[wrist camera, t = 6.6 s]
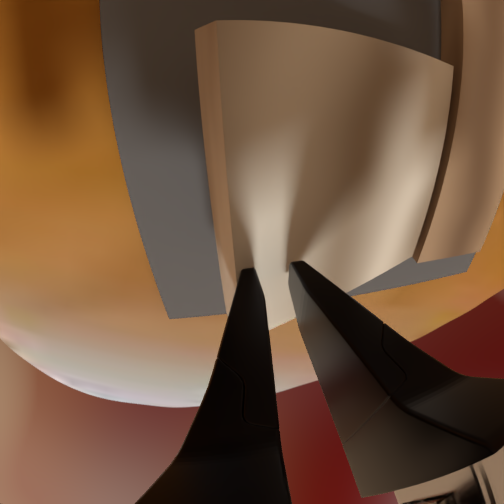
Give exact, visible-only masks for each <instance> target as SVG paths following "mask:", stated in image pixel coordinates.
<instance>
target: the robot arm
mask: <svg viewBox="0 0 504 504" xmlns="http://www.w3.org/2000/svg"><path fill="white" fill-rule="evenodd" d="M288 286H289V291H290V295H291V299H292V302H293V306H294V310H295V314H296V318H297V322H298V326H299V330H300V333H301V336H302V338H303V341H304V343H305V346H306V349H307V351H308V354H309V356H310V359H311V362H312V364H313V367H314V370H315V372H316V375H317V377H318V380H319V383H320V385H321V388H322V390H323V393H324V396H325V399H326V401H327V404H328V407H329V409H330V412H331V414H332V417H333V420H334V423H335V426H336V428H337V431H338V434H339V436H340V439H341V442H342V444H343V448H344V450H345V453H346V456H347V459H348V461H349V464H350V467H351V470H352V473H353V475H354V478H355V481H356V484H357V487H358V490H359V492H360V495H361V497H362V498H363V497H368V496H373V495H378V494H383V493H388V492H392V491H394V492H395V495H396V498H397V501H398V504H504V379H498V378H481V377H470V376H465V375H462V374H459V373H457V372H455V371H453V370H452V369H450V368H448V367H447V366H445V365H444V364H442V363H441V362H439V361H438V360H436V359H435V358H433V357H431V356H430V355H428V354H427V353H425V352H424V351H422V350H421V349H419V348H418V347H416V346H415V345H413V344H412V343H410V342H409V341H407V340H406V339H405V338H403V337H402V336H401V335H399V334H398V333H397V332H396V331H394V330H393V329H392V328H390V327H389V326H388V325H387V324H383V321H381V320H380V319H379V318H378V317H376V316H375V315H374V314H372V313H371V312H370V311H369V310H367V309H366V308H365V307H364V306H362V305H361V304H360V303H358V302H357V301H356V300H355V299H353V298H352V297H351V296H349V295H348V294H347V293H346V292H344V291H343V290H342V289H340V288H339V287H338V286H336V285H335V284H334V283H333V282H331V281H330V280H329V279H327V278H326V277H325V276H323V275H322V274H321V273H319V272H318V271H317V270H315V269H314V268H313V267H311V266H310V265H309V264H308V263H306V262H305V261H303V260H300V261H293V262H291V263H290V265H289V276H288ZM135 504H292V502H291V496H290V491H289V487H288V481H287V475H286V470H285V465H284V459H283V453H282V448H281V440H280V431H279V420H278V412H277V401H276V392H275V382H274V373H273V364H272V354H271V345H270V336H269V327H268V318H267V309H266V301H265V296H264V292H263V289H262V286H261V283H260V280H259V278H258V275H257V272H256V269H255V268H254V267H252V268H245V269H242V270H241V272H240V276H239V279H238V283H237V287H236V290H235V294H234V297H233V301H232V304H231V308H230V312H229V315H228V319H227V322H226V326H225V330H224V333H223V337H222V340H221V344H220V348H219V351H218V355H217V359H216V361H215V365H214V369H213V372H212V375H211V378H210V381H209V385H208V388H207V390H206V393H205V395H204V398H203V400H202V403H201V405H200V407H199V409H198V412H197V414H196V416H195V418H194V421H193V423H192V425H191V427H190V429H189V432H188V434H187V436H186V438H185V440H184V442H183V444H182V446H181V448H180V450H179V452H178V454H177V455H176V457H175V458H174V460H173V461H172V463H171V464H170V465H169V467H168V468H167V469H166V470H165V471H164V472H163V473H162V474H161V475H160V477H159V478H158V479H157V480H156V481H155V483H153V484H152V486H151V487H150V488H149V489H148V490H147V491H146V492H145V493H144V494H143V495H142V496H141V497H140V499H139V500H138V501H137V502H136V503H135Z"/></svg>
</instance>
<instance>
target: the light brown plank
mask: <svg viewBox="0 0 504 504" xmlns="http://www.w3.org/2000/svg"><path fill="white" fill-rule="evenodd" d="M440 1H441V61H443V62H445V63H448V64H450V65H452V66H454V68H453V81H452V91H451V100H450V108H449V115H448V122H447V128H446V134H445V139H444V144H443V150H442V154H441V159H440V164H439V168H438V172H437V177H436V181H435V185H434V188H433V192H432V196H431V200H430V203H429V207H428V210H427V213H426V217H425V220H424V223H423V226H422V229H421V233H420V236H419V239H418V241H417V244H416V247H415V250H414V253H413V256H412V257H413V258H414V260H415V261H416V262H417V263H421V262H427V261H433V260H438V259H443V258H449V257H454V256H459V255H465V254H470V253H475V252H480V250H481V248H482V246H483V244H484V241H485V239H486V237H487V234H488V232H489V229H490V227H491V224H492V222H493V219H494V217H495V214H496V211H497V209H498V206H499V203H500V200H501V197H502V194H503V191H504V0H440Z"/></svg>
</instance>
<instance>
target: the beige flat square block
mask: <svg viewBox="0 0 504 504" xmlns="http://www.w3.org/2000/svg"><path fill="white" fill-rule="evenodd" d="M195 45H196V59H197V73H198V85H199V96H200V107H201V118H202V128H203V138H204V148H205V157H206V166H207V175H208V183H209V192H210V200H211V208H212V216H213V224H214V231H215V239H216V246H217V253H218V260H219V267H220V274H221V281H222V288H223V294H224V301H225V307H226V313H227V316H228V315H229V312H230V308H231V304H232V301H233V297H234V294H235V290H236V287H237V283H238V279H239V276H240V272H241V270H242V269H245V268H252V267H254V268H255V269H256V272H257V275H258V278H259V280H260V283H261V286H262V289H263V292H264V296H265V301H266V309H267V318H268V327H269V330H270V329H272V328H275V327H277V326H279V325H281V324H283V323H286V322H288V321H290V320H292V319H294V318H296V314H295V310H294V306H293V302H292V299H291V295H290V291H289V286H288V276H289V265H290V263H291V262H293V261H300V260H303V261H305V262H306V263H308V264H309V265H310V266H311V267H313V268H314V269H315V270H317V271H318V272H319V273H321V274H322V275H323V276H325V277H326V278H327V279H329V280H330V281H331V282H333V283H334V284H335V285H336V286H338V287H339V288H340V289H342V290H343V291H344V292H346V293H347V292H349V291H351V290H353V289H355V288H356V287H358V286H360V285H362V284H364V283H366V282H368V281H370V280H371V279H373V278H375V277H377V276H379V275H380V274H382V273H384V272H386V271H388V270H389V269H391V268H393V267H395V266H396V265H398V264H400V263H402V262H403V261H405V260H407V259H409V258H410V257H412V256H413V253H414V250H415V247H416V244H417V241H418V239H419V236H420V233H421V229H422V226H423V223H424V220H425V217H426V213H427V210H428V207H429V203H430V200H431V196H432V192H433V188H434V185H435V181H436V177H437V172H438V168H439V164H440V159H441V154H442V150H443V144H444V139H445V134H446V128H447V122H448V115H449V108H450V100H451V91H452V81H453V68H454V66H452V65H450V64H448V63H445V62H443V61H440V60H438V59H436V58H433V57H431V56H428V55H425V54H423V53H420V52H417V51H414V50H412V49H409V48H406V47H403V46H400V45H396V44H393V43H390V42H386V41H383V40H379V39H376V38H372V37H368V36H364V35H360V34H356V33H351V32H346V31H341V30H336V29H331V28H325V27H319V26H312V25H304V24H296V23H286V22H274V21H256V20H216V21H214V22H211V23H209V24H207V25H204V26H202V27H200V28H198V29H196V30H195Z"/></svg>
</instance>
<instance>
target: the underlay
mask: <svg viewBox="0 0 504 504" xmlns="http://www.w3.org/2000/svg"><path fill="white" fill-rule="evenodd" d="M216 20H256V21H274V22H286V23H296V24H304V25H312V26H319V27H325V28H331V29H336V30H341V31H346V32H351V33H356V34H360V35H364V36H368V37H372V38H376V39H379V40H383V41H386V42H390V43H393V44H396V45H400V46H403V47H406V48H409V49H412V50H414V51H417V52H420V53H423V54H425V55H428V56H431V57H433V58H436V59H438V60H440V61H441V1H440V0H100V21H101V35H102V47H103V57H104V66H105V74H106V81H107V88H108V95H109V101H110V108H111V113H112V119H113V124H114V130H115V135H116V140H117V145H118V149H119V154H120V159H121V163H122V167H123V172H124V176H125V180H126V184H127V188H128V192H129V196H130V200H131V203H132V207H133V211H134V214H135V218H136V221H137V225H138V228H139V232H140V235H141V238H142V241H143V245H144V248H145V251H146V254H147V257H148V260H149V263H150V266H151V269H152V272H153V275H154V278H155V281H156V284H157V287H158V290H159V292H160V295H161V298H162V301H163V303H164V306H165V309H166V311H167V314H168V317H169V319H177V318H188V317H199V316H209V315H219V314H227V313H226V307H225V301H224V294H223V288H222V281H221V274H220V267H219V260H218V253H217V246H216V239H215V231H214V224H213V216H212V208H211V200H210V192H209V183H208V175H207V166H206V157H205V148H204V138H203V128H202V118H201V107H200V96H199V85H198V73H197V59H196V45H195V30H196V29H198V28H200V27H202V26H204V25H207V24H209V23H211V22H214V21H216ZM475 253H476V252H475ZM475 253H470V254H465V255H459V256H454V257H449V258H443V259H438V260H433V261H427V262H421V263H417V262H416V261H415V260H414V258H413V257H410V258H409V259H407V260H405V261H403V262H402V263H400V264H398V265H396V266H395V267H393V268H391V269H389V270H388V271H386V272H384V273H382V274H380V275H379V276H377V277H375V278H373V279H371V280H370V281H368V282H366V283H364V284H362V285H360V286H358V287H356V288H355V289H353V290H351V291H349V292H347V294H348V295H349V296H354V295H360V294H365V293H371V292H376V291H381V290H386V289H391V288H396V287H401V286H406V285H411V284H416V283H420V282H425V281H429V280H434V279H438V278H442V277H447V276H451V275H455V274H459V273H463V272H467V270H468V268H469V266H470V264H471V262H472V259H473V257H474V255H475Z"/></svg>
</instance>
